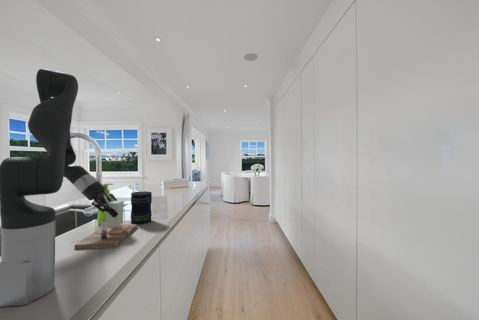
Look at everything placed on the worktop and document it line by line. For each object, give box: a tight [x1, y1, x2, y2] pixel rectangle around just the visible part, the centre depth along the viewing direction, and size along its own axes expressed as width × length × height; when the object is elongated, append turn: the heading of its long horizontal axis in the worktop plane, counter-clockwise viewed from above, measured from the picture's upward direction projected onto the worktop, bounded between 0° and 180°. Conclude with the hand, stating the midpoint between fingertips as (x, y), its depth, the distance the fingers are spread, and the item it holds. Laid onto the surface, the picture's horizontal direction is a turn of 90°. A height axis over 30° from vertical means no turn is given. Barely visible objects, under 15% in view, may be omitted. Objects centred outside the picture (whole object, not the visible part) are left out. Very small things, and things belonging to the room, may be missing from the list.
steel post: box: [100, 221, 107, 239], centre depth 81 cm, size 2×2×6 cm
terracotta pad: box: [98, 226, 129, 234], centre depth 90 cm, size 9×9×1 cm
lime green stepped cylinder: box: [97, 182, 114, 227], centre depth 102 cm, size 6×7×20 cm
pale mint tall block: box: [106, 200, 124, 227], centre depth 90 cm, size 5×5×10 cm
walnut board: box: [73, 223, 138, 250], centre depth 86 cm, size 22×14×2 cm, turn 8°
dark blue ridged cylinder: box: [130, 191, 153, 226], centre depth 107 cm, size 10×10×15 cm
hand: (119, 214), depth 90 cm, fingers closed on pale mint tall block, 5 cm apart
